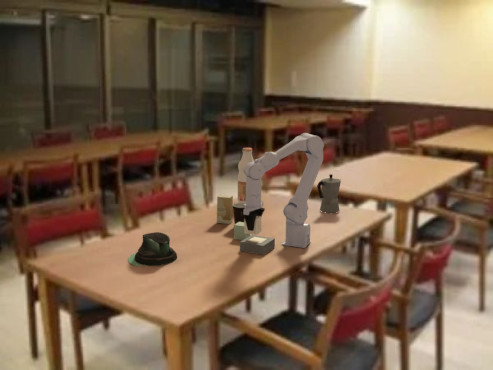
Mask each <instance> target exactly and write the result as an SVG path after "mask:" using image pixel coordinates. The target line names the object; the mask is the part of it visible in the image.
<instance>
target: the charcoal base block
mask: <svg viewBox="0 0 493 370" xmlns="http://www.w3.org/2000/svg"><path fill="white" fill-rule="evenodd" d="M275 240H276V238H273V237H268V236H262V235H258V234H257V235H255V234H250V236H249V237H247V238H246V239H244V240H240V241H239V251H240V252H245V253H249V252H250V254H255V255H260V256H264V255H266V254H267V253H269V252H270V251H271V249H272V250H273V249H274V247H276V243H275V242H276V241H275ZM268 251H269V252H268ZM265 253H266V254H265Z"/></svg>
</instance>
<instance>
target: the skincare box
mask: <svg viewBox="0 0 493 370" xmlns="http://www.w3.org/2000/svg"><path fill="white" fill-rule="evenodd" d="M233 204H234V195H228V194H218V195H217V199H216V223H217V224H225V225H230V224H231V223H232V222H233Z"/></svg>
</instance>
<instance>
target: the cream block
mask: <svg viewBox="0 0 493 370" xmlns="http://www.w3.org/2000/svg"><path fill="white" fill-rule="evenodd" d="M261 232H262V217H261V216H256V219H255V224H254V230H253V231H250V230H248V229H247V225H246V221H245V219H244V233H246V234H250V235H257V236H258V234H260V233H261Z"/></svg>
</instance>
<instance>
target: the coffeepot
mask: <svg viewBox="0 0 493 370" xmlns="http://www.w3.org/2000/svg"><path fill="white" fill-rule="evenodd" d="M341 182H342V181H341V179H339V178H334V177H333V174H329V178H323V179H321V180H320V181H318V183H317V187H316V188H317V191H318V195H319V198H320V199H321V203H320V208H319V210H321V211H322V212H321V211H320V212H321V213H323V212H326V213H325V214H330V213H332V214H337V213H336V212H338V211H339V212H340V206H339V204H340V203H339V198H338V195H339V191H340V187H341V184H342V183H341ZM339 212H338V213H339Z"/></svg>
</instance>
